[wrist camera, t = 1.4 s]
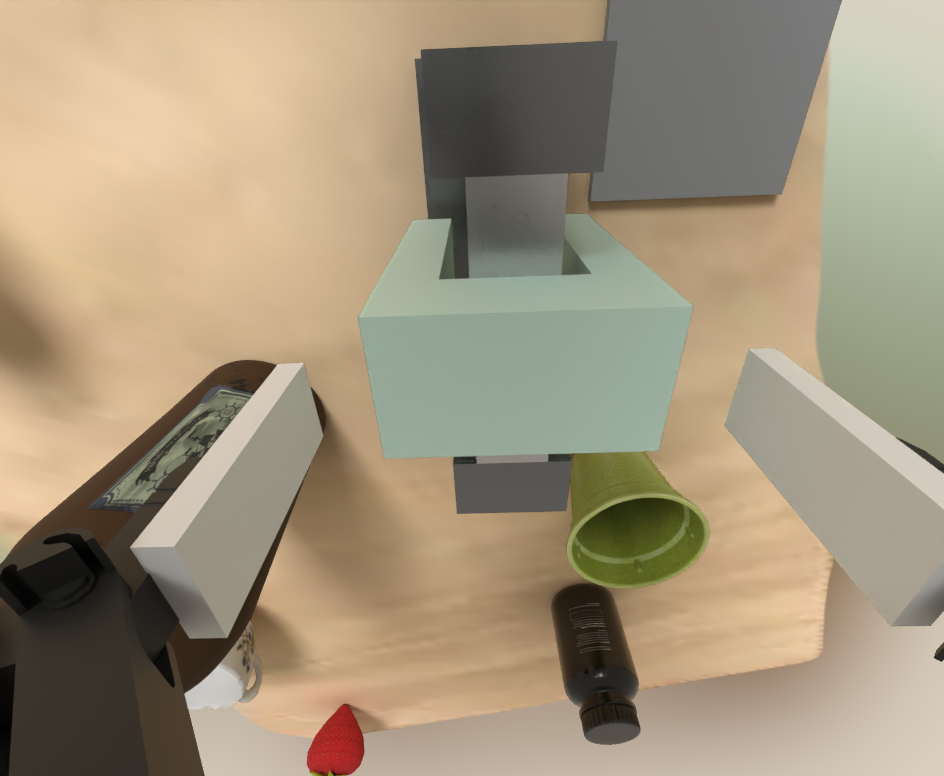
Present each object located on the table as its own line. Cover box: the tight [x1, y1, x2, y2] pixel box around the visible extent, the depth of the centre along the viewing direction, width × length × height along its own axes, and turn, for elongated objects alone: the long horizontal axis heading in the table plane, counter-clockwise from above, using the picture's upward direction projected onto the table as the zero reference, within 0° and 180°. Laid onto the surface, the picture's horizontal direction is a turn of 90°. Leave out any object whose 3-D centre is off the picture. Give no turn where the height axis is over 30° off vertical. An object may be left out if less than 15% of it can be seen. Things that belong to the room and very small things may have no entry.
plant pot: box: [566, 451, 710, 588], centre depth 33 cm, size 9×9×9 cm
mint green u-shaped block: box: [358, 213, 694, 459], centre depth 19 cm, size 5×9×13 cm, turn 92°
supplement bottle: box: [551, 585, 640, 745], centre depth 42 cm, size 7×7×12 cm
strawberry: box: [307, 705, 364, 776], centre depth 56 cm, size 6×8×10 cm
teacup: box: [185, 621, 263, 710], centre depth 45 cm, size 15×12×8 cm
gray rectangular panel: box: [588, 0, 842, 202], centre depth 23 cm, size 11×11×1 cm
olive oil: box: [0, 360, 325, 694], centre depth 24 cm, size 11×11×25 cm
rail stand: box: [415, 41, 618, 514], centre depth 22 cm, size 19×8×14 cm, turn 2°
